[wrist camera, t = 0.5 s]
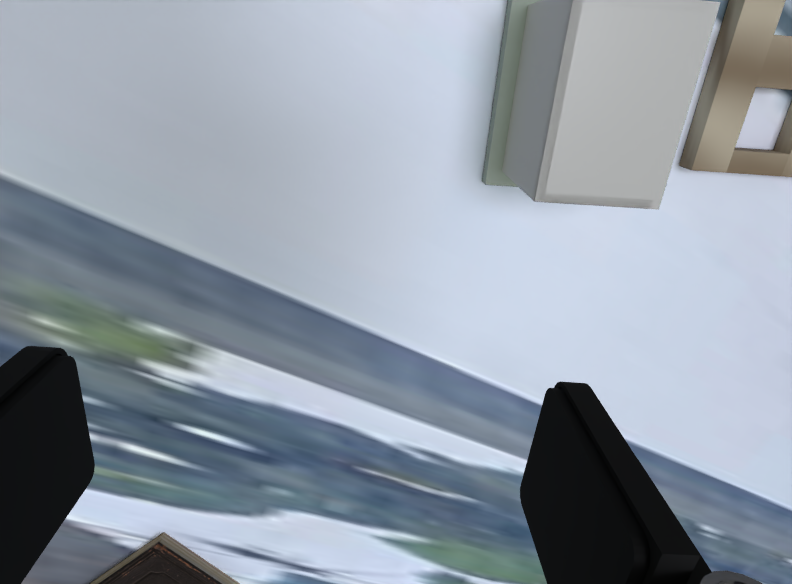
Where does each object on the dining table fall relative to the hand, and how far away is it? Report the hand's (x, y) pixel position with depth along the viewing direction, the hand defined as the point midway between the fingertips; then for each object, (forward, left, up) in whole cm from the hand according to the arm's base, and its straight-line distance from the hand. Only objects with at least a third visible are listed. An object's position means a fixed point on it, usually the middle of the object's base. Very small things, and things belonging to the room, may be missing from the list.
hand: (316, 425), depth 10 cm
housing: (-5, +13, -27) cm, 30 cm away
